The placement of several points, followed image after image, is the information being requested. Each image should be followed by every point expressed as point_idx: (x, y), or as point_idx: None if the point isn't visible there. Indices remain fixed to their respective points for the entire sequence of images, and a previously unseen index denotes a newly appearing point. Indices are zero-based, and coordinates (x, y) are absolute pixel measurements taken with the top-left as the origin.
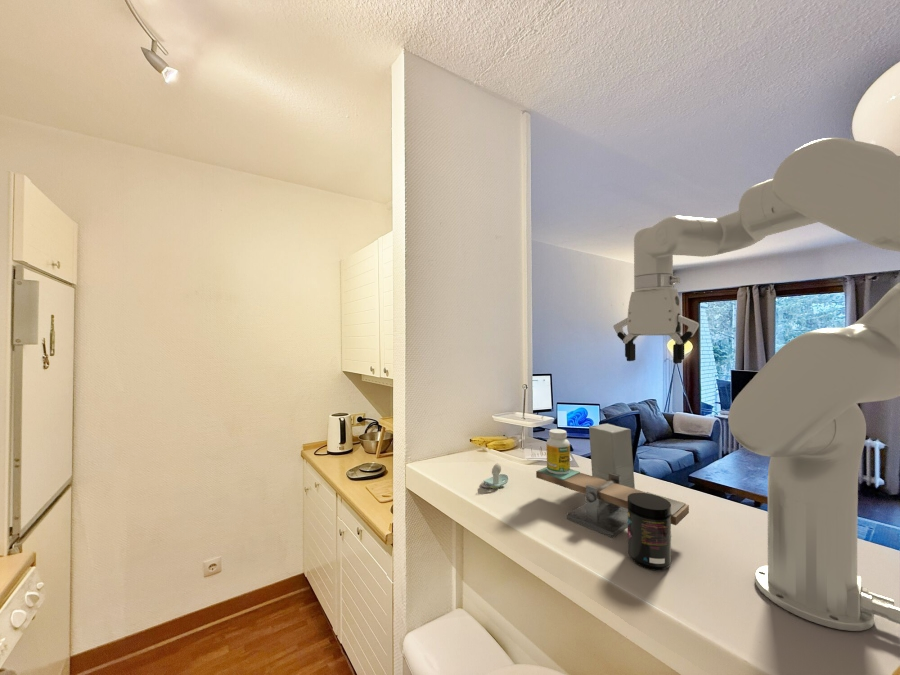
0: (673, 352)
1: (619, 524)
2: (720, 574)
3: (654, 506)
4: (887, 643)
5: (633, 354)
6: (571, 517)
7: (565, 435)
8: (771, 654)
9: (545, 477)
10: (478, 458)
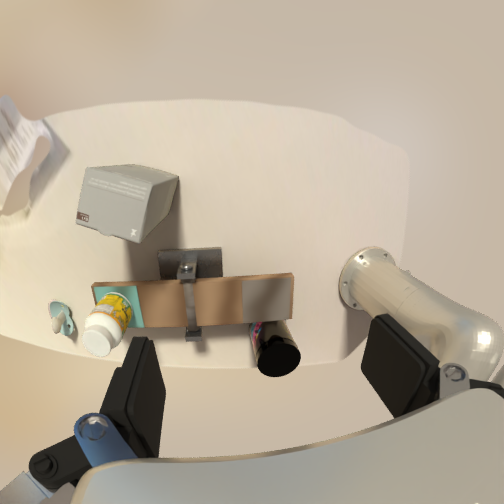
0: (381, 397)
1: None
2: (317, 298)
3: (288, 367)
4: None
5: (152, 381)
6: None
7: (111, 341)
8: (346, 350)
9: None
10: None
